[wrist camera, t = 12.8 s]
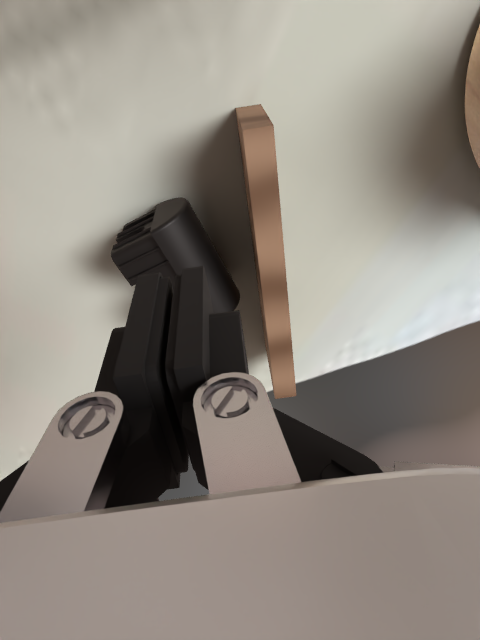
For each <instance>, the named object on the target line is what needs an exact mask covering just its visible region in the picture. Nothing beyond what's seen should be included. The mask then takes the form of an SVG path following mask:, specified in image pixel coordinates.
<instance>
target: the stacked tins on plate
mask: <svg viewBox="0 0 480 640" xmlns="http://www.w3.org/2000/svg"><path fill="white" fill-rule="evenodd" d="M465 118H466V126H467V133H468V137H469V142H470V145H471V148H472V152H473V154H474V157H475V160H476V162H477V164H478V167H479V169H480V25H479V28H478V31H477V34H476V37H475V40H474V44H473V47H472V51H471V55H470V59H469V64H468V70H467V76H466V88H465Z"/></svg>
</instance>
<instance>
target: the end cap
mask: <svg viewBox="0 0 480 640" xmlns="http://www.w3.org/2000/svg"><path fill="white" fill-rule="evenodd" d="M116 241H117V242H118V243H117V244H115V245H113V249H112V252H111V257H112V259H113V261H114V263H115V264H116V266H117V267H118V268H119V270H120V271H121V273H122V274H123V275H124V277H125V278H126V280H127V281H128V282H129V284H130V285H131V286H133V285H135V284H136V283H137V279H138V276H139V275H145V274H152V273H159V272H160V273H161V274H162V276H163V277H170V279H171V282H172V286H173V290H174V281H175V276H176V275H182V269H186V268H192V267H199V266H204V268H205V272H206V277H207V282H208V287H209V292H210V297H211V302H212V308H213V313H214V314H216V313H223V312H230V311H234V310H235V308H236V307H237V305H238V303H239V300H240V293H239V290H238V289H237V287H236V285H235V283H234V281H233V280H232V278H231V276H230V274H229V273H228V271H227V269H226V267H225V265H224V264H223V262H222V260H221V258H220V257H219V255H218V253H217V251H216V250H215V248H214V246H213V244H212V242H211V241H210V239H209V237H208V235H207V234H206V232H205V230H204V228H203V226H202V225H201V223H200V221H199V219H198V218H197V216H196V214H195V212H194V211H193V209H192V207H191V205H190V203H189V202H188V200H186V199H185V198H174V199H170V200H167V201H165V202H162V203H160V204H158V205H157V206H156V209H155V210H153V211H151V212H149V213H147V214H145V215H143V216H141V217H139V218H137V219H135V220H133V221H131V222H129V223H127V224H126V225H125V226H124V229H123V232H121V233H119V234H118V235H117V239H116Z"/></svg>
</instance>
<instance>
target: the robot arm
mask: <svg viewBox="0 0 480 640" xmlns="http://www.w3.org/2000/svg"><path fill="white" fill-rule="evenodd" d="M188 456H190V460H191V463H192V466H193V469H194V471H195V472H196V476H197V479H198V482H199V483H200V484H201V485H202V486H204V487H205V488H206V489H208V490H209V495H201V496H194V497H186V498H179V499H171V500H164V501H159V498H158V497H159V496H160V495H161V494H162V493H164V492H165V491H166V490H167V489H174V488H179V485H180V473H182V472H187V470H188V458H189V457H188ZM0 640H480V467H478V466H477V467H476V466H461V465H445V464H444V465H443V464H428V463H411V462H394V467H380V466H378V465H377V464H376V463H375V462H374V461H372V460H371V459H369V458H368V457H367V456H365V455H363V454H361V453H359V452H357V451H356V450H354V449H352V448H350V447H348V446H346V445H344V444H342V443H340V442H338V441H336V440H334V439H332V438H330V437H328V436H327V435H325V434H323V433H321V432H319V431H317V430H315V429H313V428H311V427H309V426H307V425H305V424H303V423H301V422H299V421H298V420H296V419H294V418H292V417H290V416H288V415H286V414H284V413H282V412H280V411H278V410H276V409H274V408H272V406H271V403H270V400H269V398H268V395H267V393H266V390H265V388H264V386H263V385H262V383H261V382H260V381H259V380H258V379H256V378H255V377H254V376H251V375H249V372H248V364H247V357H246V350H245V343H244V336H243V330H242V323H241V317H240V312H239V310H237V311H230V312H223V313H216V314H214V313H213V308H212V302H211V297H210V292H209V287H208V282H207V277H206V272H205V268H204V266H199V267H192V268H186V269H182V275H176V276H175V281H174V290H173V286H172V282H171V279H170V277H163V276H162V274H161V273H160V272H159V273H152V274H145V275H139V276H138V279H137V283H136V287H135V291H134V295H133V299H132V303H131V307H130V311H129V315H128V319H127V323H126V326H125V327H120V328H115V329H113V331H112V333H111V336H110V340H109V343H108V347H107V350H106V354H105V357H104V360H103V364H102V367H101V371H100V374H99V378H98V381H97V385H96V388H95V391H94V392H91V393H87V394H84V395H81V396H78V397H76V398H75V399H73V400H71V401H69V402H68V403H66V404H65V405H64V406H63V407H62V408H60V409H59V410H58V412H57V413H56V414H55V416H54V417H53V419H52V420H51V422H50V424H49V426H48V428H47V429H46V431H45V433H44V435H43V437H42V438H41V440H40V442H39V444H38V446H37V447H36V449H35V451H34V453H33V455H32V456H31V458H30V460H29V461H27V462H26V463H25V464H23V465H22V466H21V467H19V468H18V469H17V470H15V471H14V472H12V473H11V474H10V475H8V476H7V477H6V478H4V479H3V480H2V481H0Z"/></svg>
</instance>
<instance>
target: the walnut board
mask: <svg viewBox="0 0 480 640" xmlns="http://www.w3.org/2000/svg"><path fill="white" fill-rule="evenodd" d="M236 115H237V123H238V131H239V139H240V147H241V155H242V163H243V171H244V179H245V187H246V195H247V203H248V211H249V219H250V227H251V234H252V242H253V250H254V258H255V266H256V274H257V282H258V290H259V298H260V306H261V314H262V322H263V330H264V338H265V346H266V352H267V357H268V363H269V368H270V374H271V379H272V385H273V390H274V395H275V399H278V398H285V397H292V396H296V387H295V375H294V363H293V352H292V340H291V328H290V316H289V304H288V292H287V281H286V269H285V257H284V245H283V233H282V222H281V210H280V198H279V186H278V174H277V162H276V151H275V139H274V127H273V124H272V122H271V121H270V119H269V117H268V116H267V114H266V112H265V111H264V109H263V107H262V106H261V104H259V105H253V106H247V107H240V108H236Z"/></svg>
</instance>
